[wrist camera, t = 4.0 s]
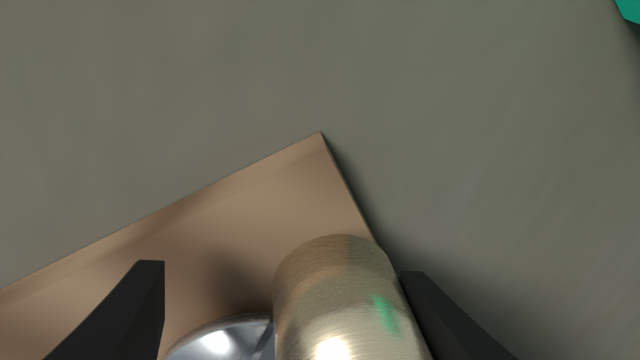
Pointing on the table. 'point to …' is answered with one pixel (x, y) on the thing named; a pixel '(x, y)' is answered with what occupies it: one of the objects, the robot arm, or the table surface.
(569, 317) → the table surface
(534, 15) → the table surface
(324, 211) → the stand
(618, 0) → the candle
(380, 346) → the crank dial
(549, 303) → the table surface
